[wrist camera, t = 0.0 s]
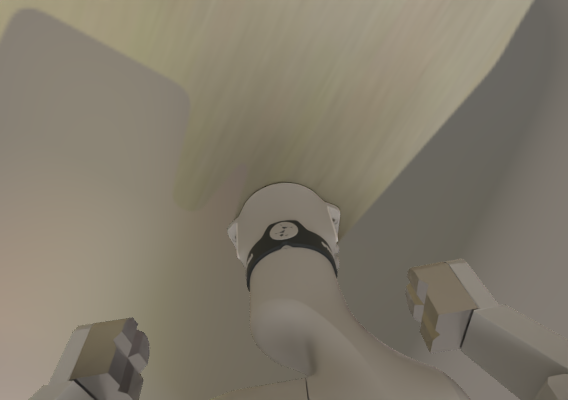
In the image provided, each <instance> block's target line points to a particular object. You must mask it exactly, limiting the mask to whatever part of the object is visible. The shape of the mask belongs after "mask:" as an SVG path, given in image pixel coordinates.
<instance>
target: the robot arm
mask: <svg viewBox="0 0 568 400" xmlns="http://www.w3.org/2000/svg"><path fill="white" fill-rule="evenodd" d="M332 218H334V220H332ZM339 222H340V210H339V208H338V207H337V206H335V205H333V204H330V203H327V202H325V201H323V200H322V199H321V198H320V197H319V196H318V195H317V194H316V193H315V192H313V191H312V190H310V189H309V188H307V187H304V186H302V185H298V184H294V183H278V184H273V185H269V186H267V187H264V188H262V189H260V190H259V191H257V192H256V193H254V194H253V195H252V196H251V197H250V198H249V199H248V200H247V202H246V203H245V204H244V206H243V208H242V211H241V213H240V215H239V216H238V217H237V218H236V219H235V220H234V221H233V222H232V223H231V224H230V225H229V226H228V228H227V233H228V236H229V237H230V239H231V241H232V243H233V245H234V246H235V248H236V250H237V258H238V259H240V260H241V262H242V264H243V266H244V267H245V269H246V280H247V287H248V289H249V292H250V331H251V335H252V337H253V339H254V341H255V343H256V345H257V346H258V347H259V349H260V350H261V351H262V352H263V353H264V354H265V355H267V356H268V357H269V358H270V359H272V360H273V361H274V362H276V363H278V364H280V365H282V366H285V367H287V368H290V369H293V370H296V371H299V372H302V373H304V374H305V375H307V381H306V378H301V379H295V380H289V381H284V382H278V383H272V384H266V385H261V386H255V387H249V388H243V389H237V390H233V391H230V392H227V393H225V394H222V395H220V396H217V397H215V398H212V399H209V400H471V399H470V398H469V396H468V395H467V394H466V393H465V392H464V391H463V389H462V388H461V387H460V386H459V385H458V384H457V383H456V382H455V381H454V380H453V379H451V378H450V377H449V376H448V375H447V374H445V373H444V372H442V371H441V370H439V369H438V368H436V367H434V366H431V365H428V364H424V363H422V362H419V361H417V360H414V359H412V358H409V357H407V356H405V355H403V354H401V353H399V352H397V351H395V350H394V349H392V348H390V347H389V346H387V345H385V344H384V343H383V342H381V341H380V340H379V339H377V338H376V337H375V336H373V335H372V334H371V333H369V332H368V331H367V330H366V329H365V328H364V327H363V326H362V325H361V324H360V323H359V322H358V321H357V320H356V318H355V317H354V316H353V314H352V313H351V311H350V309H349V308H348V305H347V303H346V301H345V299H344V297H343V294H342V292H341V289H340V287H339V284H338V281H337V270H338V269H339V258H338V256H334V255H335V254H336V253H339V245H338V244H336V242H338V237H337V235H338V228H339ZM407 277H408V279H409V281H410V283H409V284H408V285H407V286H406V300H407V304H408V307H409V310H410V312H411V314H412V316H413V318H414V319H416V320H417V321H419V322H420V323H421V327H420V333H421V335H422V337H423V339H424V341H425V343H426V346H427V348H428V350H429V352H430V353H436V352H442V351H450V350H457V349H461V351H462V352H463V353H464V354H465V355H467V356H468V357H469V358H470V359H471V360H473V361H474V362H475V363H477V364H478V365H479V366H480V367H481V368H482V369H484V370H485V371H486V372H487V373H488V374H490V375H491V376H492V377H494V378H495V379H496V380H497V381H498V382H499V383H501V384H502V385H503V386H504V387H505V388H507V389H508V390H509V391H510V392H512V393H513V394H514V395H515V396H516V397H518V398H519V399H520V400H568V340H567V339H566V338H564V337H562V336H560V335H559V334H557V333H555V332H553V331H552V330H550V329H548V328H546V327H544V326H543V325H541V324H539V323H537V322H535V321H534V320H532V319H530V318H528V317H526V316H525V315H523V314H521V313H519V312H517V311H516V310H514V309H512V308H510V307H508V306H507V305H499V304H498V303H497V302H496V300H495V299H494V298H493V296H492V295H491V294H490V292H489V291H488V290H487V288H486V287H485V286H484V284H483V283H482V282H481V280H480V279H479V278H478V276H477V275H476V274H475V273H474V271H473V270H472V269H471V267H470V266H469V265H468V263H467V262H466V261H465V260H463V259H457V260H452V261H446V262H438V263H433V264H427V265H423V266H417V267H412V268H409V270H408V274H407ZM137 325H138V323H137V322H136V321H135V320H134V318H126V319H120V320H113V321H106V322H100V323H93V324H87V325H81V326H78V327H77V328H76V329H75V330H74V331H73V332H72V335H71V337H70V339H69V341H68V343H67V345H66V348H65V350H64V352H63V354H62V356H61V358H60V360H59V363H58V365H57V367H56V369H55V371H54V373H53V375H52V378H51V380H50V382H49V384H48V385H43V386H42V387H41V388H40V389H39V390H38V391H37V392H36V393H35V394H34V395H33V396H32V397H31V398H30V399H29V400H139V396H140V393H141V389H142V385H143V378H142V376H141V374H140V373H141V372H142V370H143V369H144V368H145V367H146V365H147V364H148V359H149V341H148V338H147V336H146V335H145V333H144V332H142V331H139V330H137Z"/></svg>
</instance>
